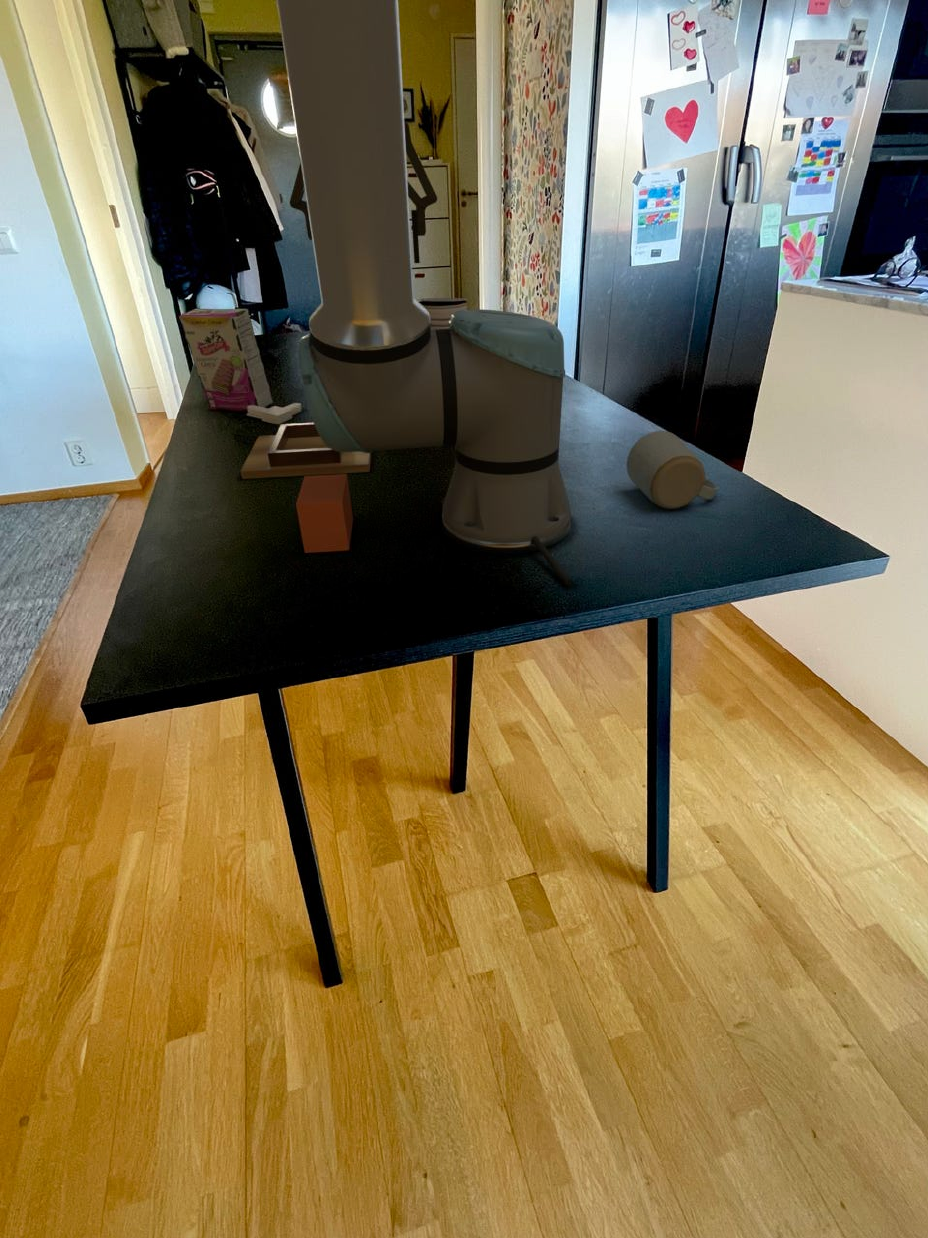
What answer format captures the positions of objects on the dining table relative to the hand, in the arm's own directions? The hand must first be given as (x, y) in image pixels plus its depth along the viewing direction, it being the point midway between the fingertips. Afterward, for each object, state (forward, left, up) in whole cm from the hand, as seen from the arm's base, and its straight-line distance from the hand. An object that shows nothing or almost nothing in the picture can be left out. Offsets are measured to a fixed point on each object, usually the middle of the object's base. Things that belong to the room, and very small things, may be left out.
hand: (370, 264), depth 96 cm
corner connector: (+11, +20, -24) cm, 33 cm away
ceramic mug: (-33, -37, -25) cm, 55 cm away
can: (+53, -13, -25) cm, 60 cm away
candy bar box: (+16, +27, -24) cm, 39 cm away
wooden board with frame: (-11, +11, -24) cm, 29 cm away
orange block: (-38, +6, -24) cm, 46 cm away
